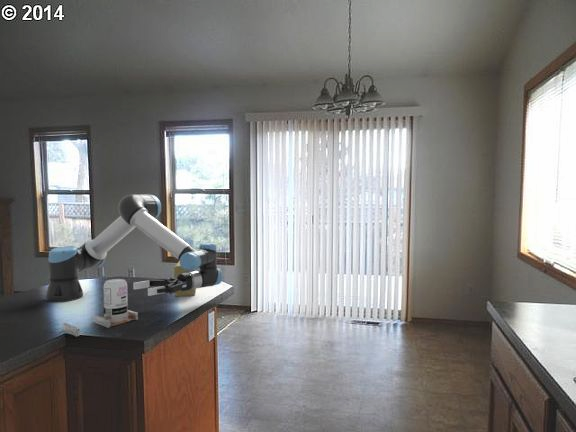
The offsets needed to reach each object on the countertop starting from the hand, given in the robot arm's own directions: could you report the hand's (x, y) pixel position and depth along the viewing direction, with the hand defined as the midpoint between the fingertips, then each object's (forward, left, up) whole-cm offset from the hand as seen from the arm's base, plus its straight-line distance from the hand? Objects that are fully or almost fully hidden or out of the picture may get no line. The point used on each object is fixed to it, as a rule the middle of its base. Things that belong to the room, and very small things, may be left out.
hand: (140, 289), depth 154 cm
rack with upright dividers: (-2, -15, -10) cm, 18 cm away
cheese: (-19, +37, -11) cm, 43 cm away
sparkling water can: (-2, -9, -10) cm, 14 cm away
